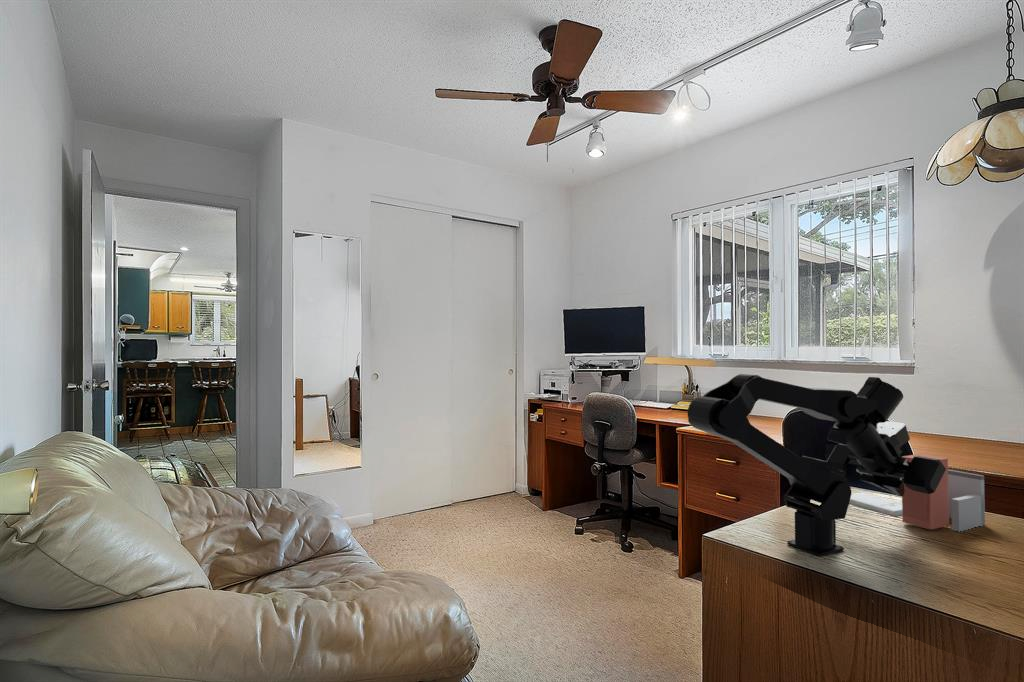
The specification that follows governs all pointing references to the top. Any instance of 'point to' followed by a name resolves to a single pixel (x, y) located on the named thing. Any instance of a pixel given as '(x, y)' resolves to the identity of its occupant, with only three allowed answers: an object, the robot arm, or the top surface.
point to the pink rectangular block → (927, 502)
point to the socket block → (966, 500)
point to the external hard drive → (877, 503)
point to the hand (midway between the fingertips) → (901, 494)
